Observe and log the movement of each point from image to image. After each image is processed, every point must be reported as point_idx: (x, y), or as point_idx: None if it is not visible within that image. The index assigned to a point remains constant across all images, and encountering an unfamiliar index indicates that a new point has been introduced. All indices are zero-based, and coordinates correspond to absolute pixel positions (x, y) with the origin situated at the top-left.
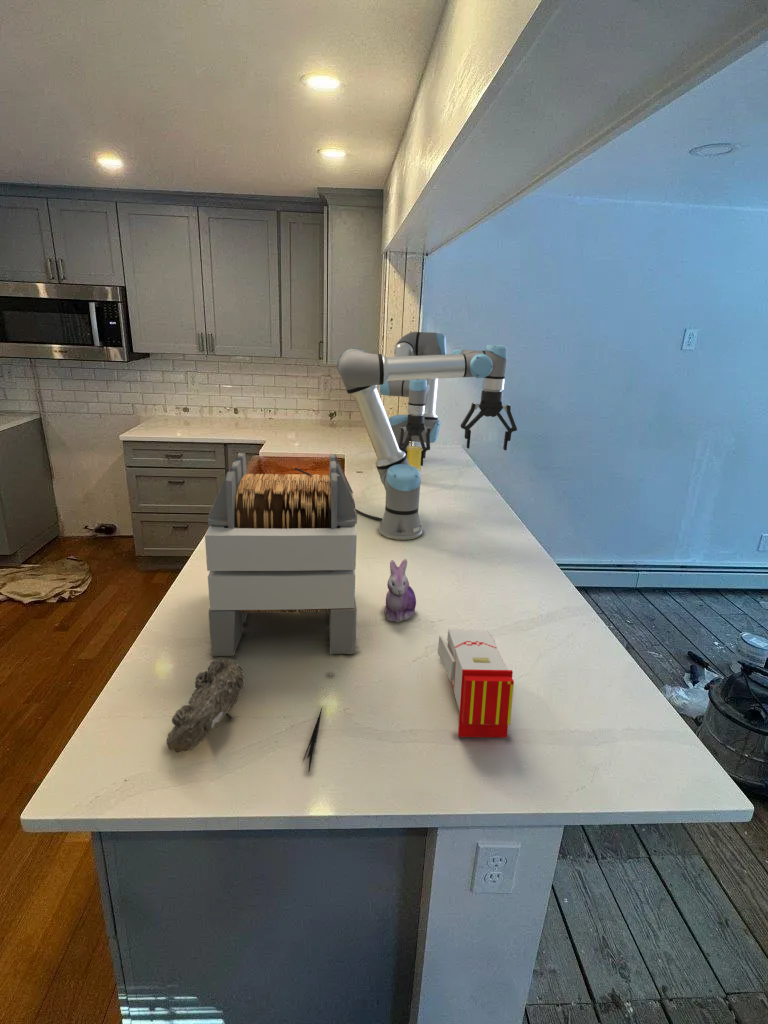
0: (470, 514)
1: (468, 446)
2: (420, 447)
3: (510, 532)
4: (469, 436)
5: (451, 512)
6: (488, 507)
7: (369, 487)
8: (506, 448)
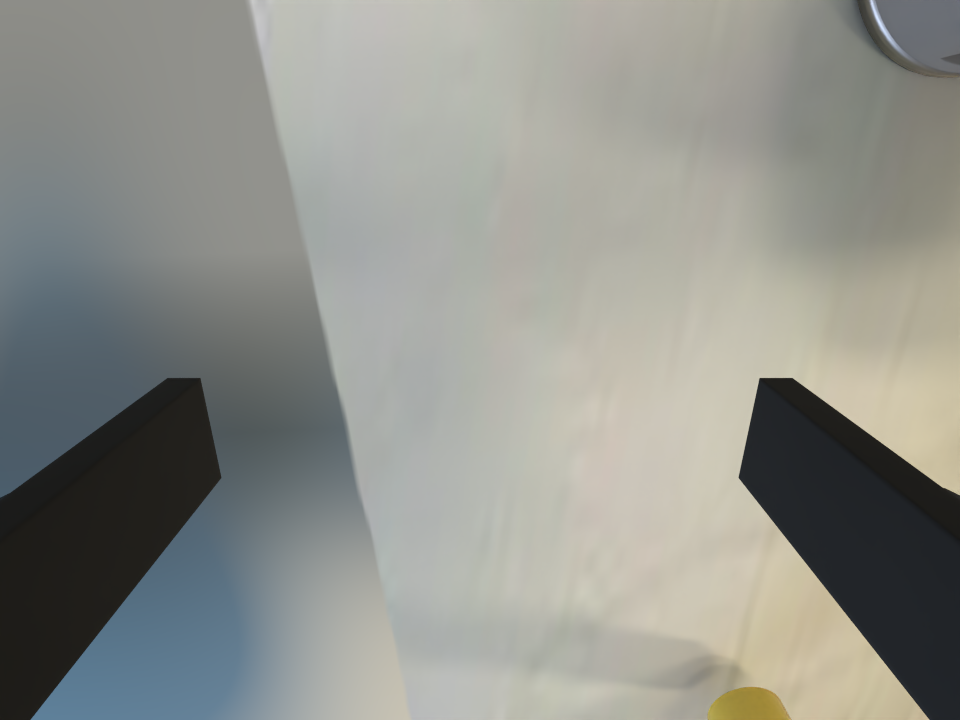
0: (515, 304)
1: (794, 391)
2: None
3: (324, 42)
4: (926, 498)
5: (611, 319)
6: (410, 417)
7: None
8: (153, 391)
